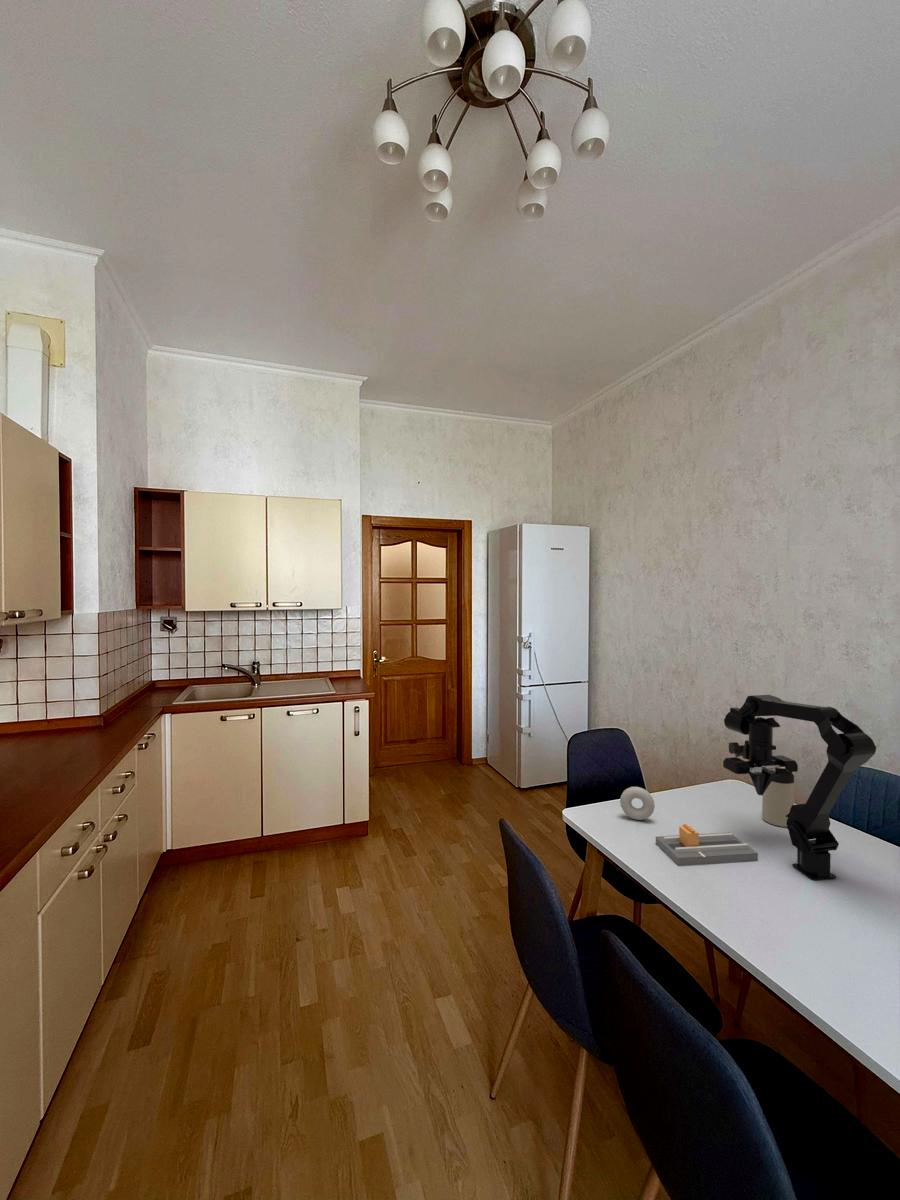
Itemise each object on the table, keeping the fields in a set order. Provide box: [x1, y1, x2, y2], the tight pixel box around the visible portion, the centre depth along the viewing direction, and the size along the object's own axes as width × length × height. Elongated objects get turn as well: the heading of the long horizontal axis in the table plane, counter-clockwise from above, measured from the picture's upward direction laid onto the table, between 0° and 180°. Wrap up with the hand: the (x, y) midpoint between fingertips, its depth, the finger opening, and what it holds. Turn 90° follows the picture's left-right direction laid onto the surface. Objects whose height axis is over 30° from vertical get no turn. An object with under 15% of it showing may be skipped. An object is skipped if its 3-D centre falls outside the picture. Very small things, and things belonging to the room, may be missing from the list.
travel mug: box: [761, 767, 795, 828], centre depth 150 cm, size 8×8×18 cm
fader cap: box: [678, 823, 700, 847], centre depth 132 cm, size 4×3×5 cm
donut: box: [619, 786, 656, 821], centre depth 151 cm, size 10×4×10 cm, turn 69°
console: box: [655, 832, 759, 867], centre depth 132 cm, size 12×22×3 cm, turn 96°
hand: (759, 794), depth 138 cm, fingers closed
